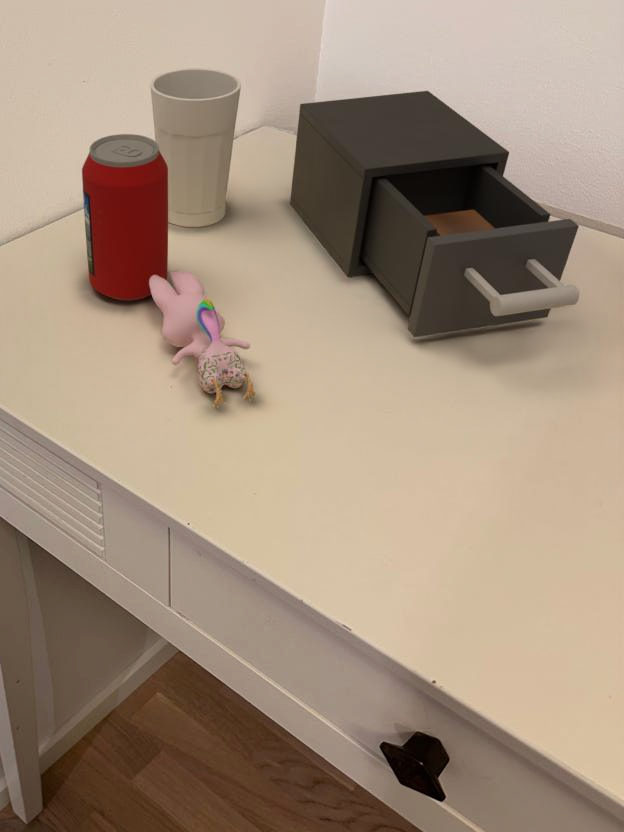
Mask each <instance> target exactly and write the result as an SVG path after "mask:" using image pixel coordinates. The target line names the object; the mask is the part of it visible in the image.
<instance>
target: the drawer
mask: <svg viewBox="0 0 624 832" xmlns="http://www.w3.org/2000/svg"><path fill="white" fill-rule="evenodd" d="M466 210H475V211H476V212H477V213H478V214H479V215H481V216H482V217H483V218H484V219H485V220H486V221H487V222H488V223H490V224H491V225H492V226H493V227H494V228H495V229H488V230H480V231H473V232H465V233H458V234H450V235H442V236H436V232H437V228H436V227H435V226H434V225H433V224H432V223H431V222H430V221H428V220H427V219H426V218H425V217H424V216H427V215H435V214H443V213H450V212H458V211H466ZM550 218H551V213H550V212H549V211H547V210H546V209H545V208H543V206H541V205H540V204H538V203H537V202H536V201H535V200H534V199H532V198H531V197H530V196H528V195H527V194H526V193H525V192H523V191H522V189H520V188H518V187H517V186H516V185H515V184H514V183H512V182H511V181H510V180H508V179H507V178H506V177H505V176H504V175H503V176H502V175H501V174H500V173H498V172H497V171H496V170H495V169H493V168H492V167H491V166H490V165H488V164H480V165H472V166H463V167H455V168H447V169H438V170H430V171H421V172H413V173H405V174H396V175H388V176H379V177H372V184H371V190H370V196H369V202H368V208H367V214H366V220H365V226H364V232H363V238H362V244H361V250H360V256H359V257H360V258H361V259H362V260H363V261H364V263H365V264H366V265H367V266H368V267H369V269H370V270H371V271H372V272H373V273H372V274H373V275H374V276H375V277H376V278H377V280H378V281H379V282H380V283H381V285H382V286H383V287H384V288H385V289H386V290H387V292H389V294H390V295H391V296H392V297H393V298H394V300H395V302H397V303H398V305H399V306H400V307H401V308H402V309H403V311H404V312H405V313H406V314H407V315H408V316H409V320H408V326H407V331H408V332H409V333H410V334H411V336H412V337H413V338H418V337H425V336H432V335H439V334H445V333H452V332H458V331H464V330H472V329H478V328H486V327H492V326H498V325H504V324H505V325H506V324H512V323H519V322H525V321H531V320H538V319H544V318H546V319H547V318H549V315H550V311H551V309H555V308H563V307H568V306H574V305H576V304H577V303H578V302H579V299H580V290H579V288H578V286H576V285H574V284H569V285H568V284H567V285H565V284H563V282H561V280H562V276H563V274H564V271H565V269H566V265H567V261H568V260H569V256H570V253H571V250H572V247H573V245H574V241H575V239H576V236H577V233H578V230H579V227H580V225H579V224H578V223H576V222H575V221H573V219H571V218H563V219H558V220H550Z"/></svg>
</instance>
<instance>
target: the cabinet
mask: <svg viewBox="0 0 624 832" xmlns="http://www.w3.org/2000/svg"><path fill="white" fill-rule="evenodd" d="M298 113H299V114H298V121H297V132H296V141H295V142H296V143H295V150H294V151H295V152H294V160H293V161H294V162H293V171H292V181H291V190H290V200H289V204H290V206H292V208H293V209H294V211H295V212H296V213H297V214H298V215H299V217H300V218H301V220H303V222H304V223H305V224H306V225H307V227H308V228H309V230H310V231H311V232H312V233H313V235H314V236H315V237H316V238H317V240H318V241H319V243H321V245H322V246H323V247H324V248H325V250H326V251H327V252H328V254H330V256H331V258H333V260H334V262H336V263H337V265H338V266H339V267H340V269H341V270H342V271H343V272H344V274H345V275H346V276H347V277H355V276H362V275H363V276H364V275H369V274H370V275H371V274H374V273H373V272H372V271H371V270H370V269H369V267H368V266H367V265H366V264H365V263H364V261H363V260H362V259H361V258H360V257H359V256H360V250H361V244H362V238H363V232H364V226H365V220H366V214H367V208H368V202H369V196H370V190H371V184H372V177H379V176H388V175H396V174H405V173H413V172H421V171H430V170H438V169H447V168H455V167H463V166H472V165H480V164H488V165H490V166H491V167H492V168H493V169H495V170H496V171H497V172H498V173H500V174H501V175H502V176H503V177H504V175H505V172H506V166H507V163H508V160H509V155H510V151H509V150H507V149H506V148H505V147H503V146H502V145H501V144H499V143H498V142H497V141H495V140H494V139H493V138H491V137H490V136H489V135H487V134H486V133H484V131H482V130H481V129H479V128H478V127H477V126H475V125H474V124H473V123H471V122H470V121H469V120H468V119H466V118H465V117H463V116H462V114H461V115H460V113H458V112H457V111H455V110H454V109H453V108H452V107H451V106H449V105H447V104H446V103H445V102H444V101H443V100H441V99H440V98H438V97H437V96H436V95H434V94H433V93H432V92H431V91H429V90H422V91H421V90H420V91H412V92H403V93H402V92H401V93H393V94H392V93H391V94H383V95H372V96H364V97H354V98H344V99H334V100H325V101H314V102H305V103H300V104H299V112H298Z"/></svg>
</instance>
